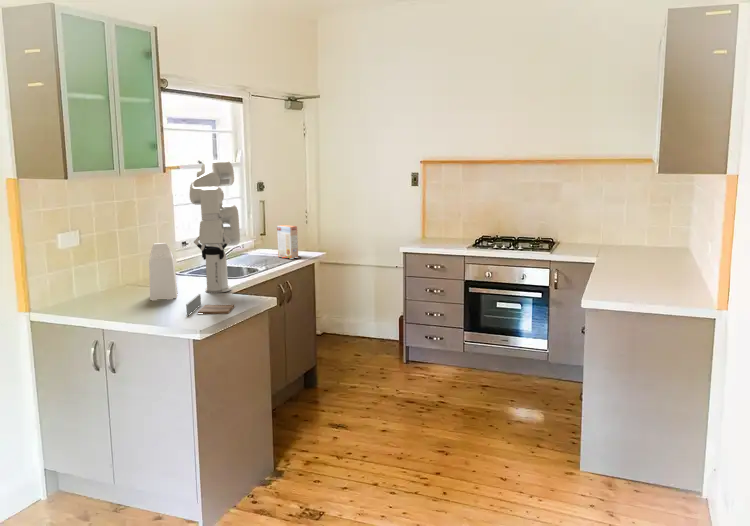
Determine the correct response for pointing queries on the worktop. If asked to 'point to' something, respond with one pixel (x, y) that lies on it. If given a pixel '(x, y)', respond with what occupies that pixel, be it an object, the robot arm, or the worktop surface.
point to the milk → (162, 273)
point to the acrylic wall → (193, 304)
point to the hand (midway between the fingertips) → (213, 258)
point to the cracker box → (287, 241)
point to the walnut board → (216, 309)
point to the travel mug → (213, 269)
